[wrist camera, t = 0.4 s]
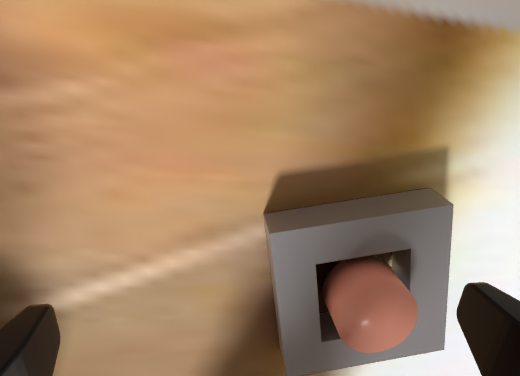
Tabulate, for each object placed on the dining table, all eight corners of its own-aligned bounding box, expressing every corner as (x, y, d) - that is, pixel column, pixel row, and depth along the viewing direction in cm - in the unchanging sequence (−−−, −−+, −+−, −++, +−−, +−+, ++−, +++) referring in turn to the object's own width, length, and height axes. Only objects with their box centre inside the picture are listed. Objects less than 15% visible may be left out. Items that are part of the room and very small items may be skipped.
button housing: (424, 323, 28) (444, 349, 26) (280, 349, 28) (286, 378, 25) (430, 187, 25) (453, 204, 22) (263, 213, 24) (269, 233, 22)
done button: (394, 310, 26) (417, 345, 23) (324, 322, 25) (339, 359, 23) (394, 248, 24) (419, 277, 21) (320, 261, 24) (335, 292, 21)
